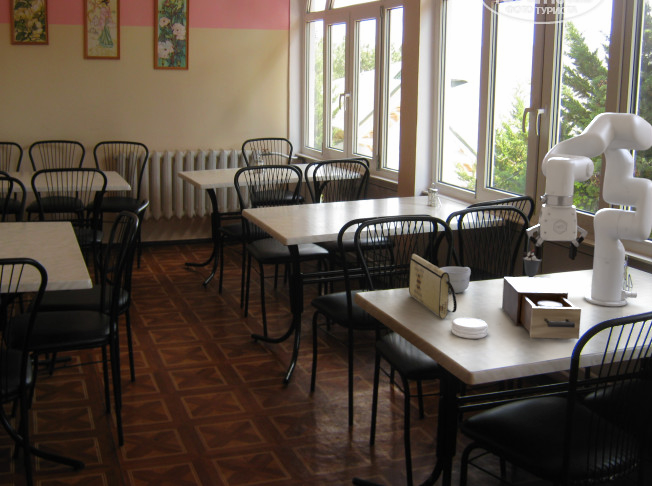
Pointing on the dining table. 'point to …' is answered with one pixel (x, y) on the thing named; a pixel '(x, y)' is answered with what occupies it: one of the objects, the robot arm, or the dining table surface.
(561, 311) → the drawer
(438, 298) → the clutch purse
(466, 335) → the white round disc
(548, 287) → the cabinet
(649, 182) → the robot arm
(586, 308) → the dining table surface
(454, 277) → the teacup
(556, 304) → the white cylinder
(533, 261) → the sundae
